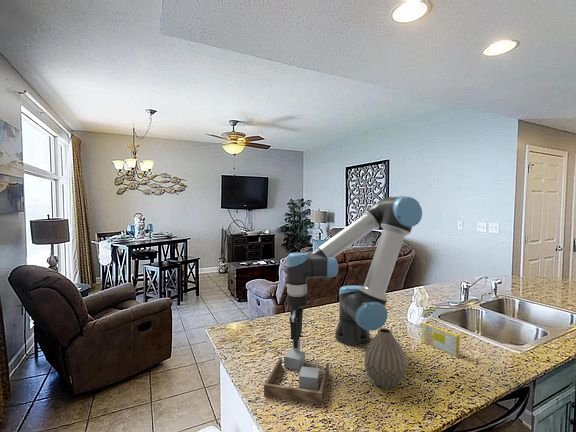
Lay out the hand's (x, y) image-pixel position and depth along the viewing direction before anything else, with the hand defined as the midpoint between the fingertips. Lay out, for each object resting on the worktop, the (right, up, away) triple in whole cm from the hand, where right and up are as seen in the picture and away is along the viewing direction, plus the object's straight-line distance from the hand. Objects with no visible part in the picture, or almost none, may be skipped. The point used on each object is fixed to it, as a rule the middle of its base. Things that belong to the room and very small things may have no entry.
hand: (296, 355), depth 118 cm
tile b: (-1, -2, -4) cm, 4 cm away
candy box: (+59, -2, +9) cm, 60 cm away
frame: (0, -2, -16) cm, 16 cm away
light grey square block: (+4, -2, -16) cm, 17 cm away
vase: (+29, -2, -15) cm, 33 cm away
